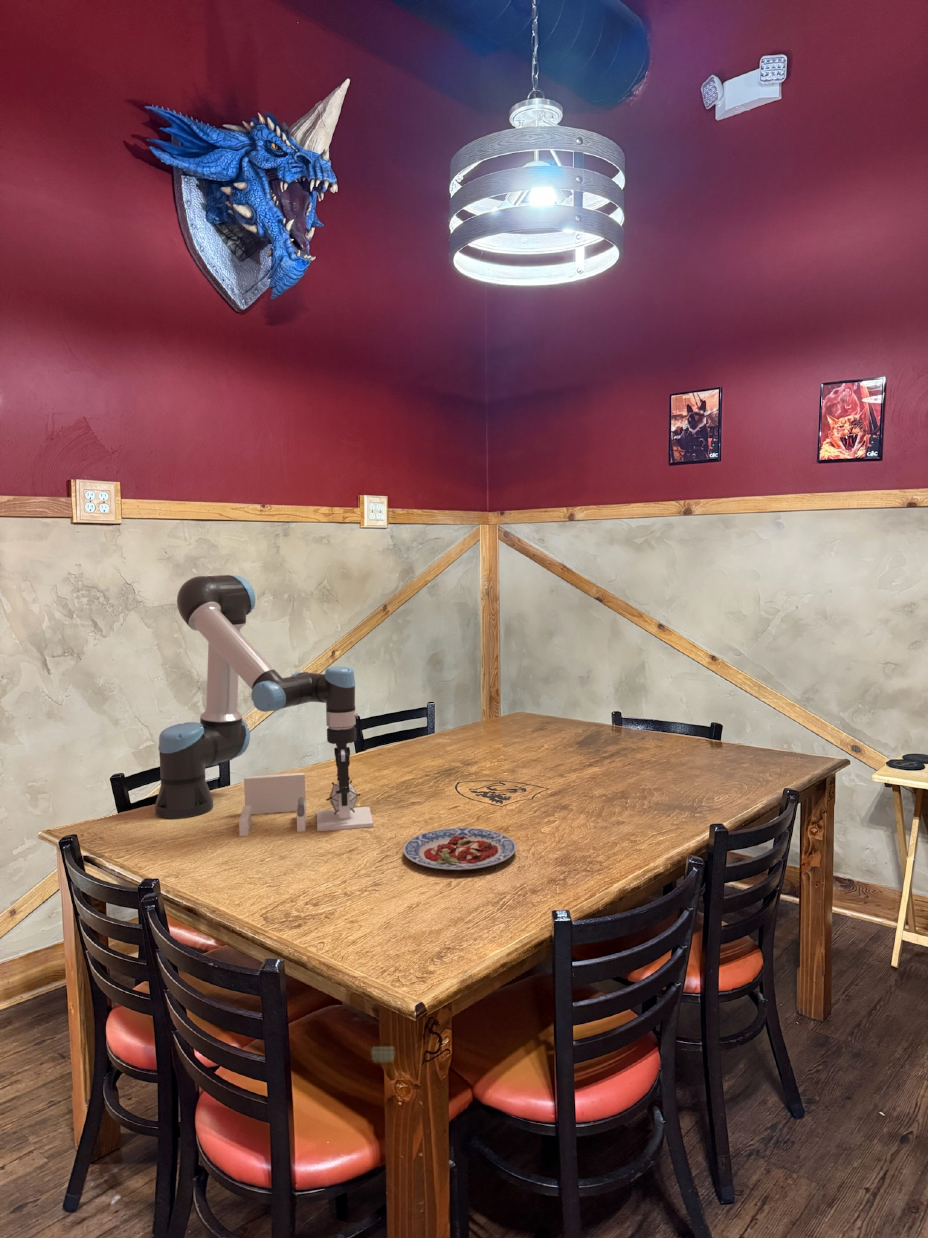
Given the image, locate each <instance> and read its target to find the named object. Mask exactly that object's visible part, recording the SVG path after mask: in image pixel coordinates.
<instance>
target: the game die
mask: <svg viewBox="0 0 928 1238" xmlns="http://www.w3.org/2000/svg"><path fill="white" fill-rule="evenodd" d="M352 782H353V780H352V779H350V780H349V789H350V792H349V797H350V810H352V811H353V812H354V813H355V811H354V810H353V809H354V808H355V807H356V803H357V800H358V797H360V796H361V793H357V791H356V789H355V787H354V786H353V784H352ZM331 785H333V786H332V788H331V792H330V795H329V797H328V798H326V799H325V801H329V802H330V804H331V806H332V808H333V809H334V810H335V811H336V812H335V813H334V814H336V813H337V812H339V794H336V791H339V784H337V783H334V781H332V782H331ZM342 788H347V787H342Z"/></svg>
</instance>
